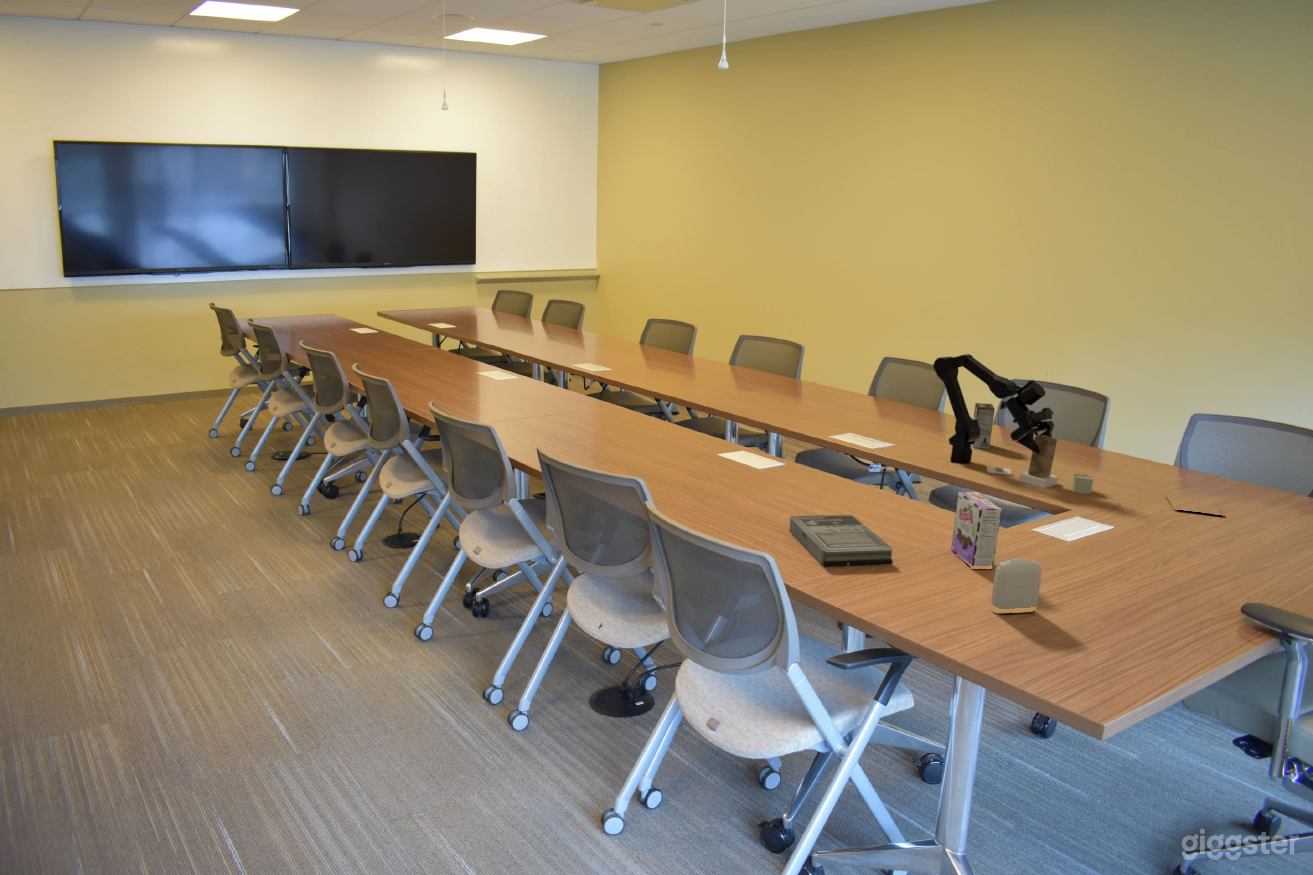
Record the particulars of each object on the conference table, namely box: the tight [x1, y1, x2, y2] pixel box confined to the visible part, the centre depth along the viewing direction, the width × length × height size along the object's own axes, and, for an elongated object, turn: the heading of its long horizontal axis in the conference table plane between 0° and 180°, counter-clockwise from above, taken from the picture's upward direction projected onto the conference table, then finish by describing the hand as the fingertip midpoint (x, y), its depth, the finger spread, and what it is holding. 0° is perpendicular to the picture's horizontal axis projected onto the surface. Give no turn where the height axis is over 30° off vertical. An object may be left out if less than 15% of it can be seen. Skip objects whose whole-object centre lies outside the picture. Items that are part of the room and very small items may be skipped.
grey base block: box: [1018, 471, 1059, 489], centre depth 311 cm, size 9×9×3 cm
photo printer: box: [990, 558, 1042, 609], centre depth 206 cm, size 10×4×12 cm, turn 100°
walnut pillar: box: [1027, 435, 1058, 478], centre depth 309 cm, size 5×5×13 cm
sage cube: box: [1071, 473, 1094, 495], centre depth 302 cm, size 5×5×5 cm
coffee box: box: [971, 402, 996, 450], centre depth 356 cm, size 9×6×16 cm
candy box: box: [950, 491, 1002, 566], centre depth 236 cm, size 14×6×16 cm, turn 5°
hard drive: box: [788, 514, 893, 568], centre depth 243 cm, size 18×27×4 cm
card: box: [986, 466, 1013, 476], centre depth 322 cm, size 8×6×1 cm
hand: (1046, 451), depth 307 cm, fingers open, 9 cm apart
